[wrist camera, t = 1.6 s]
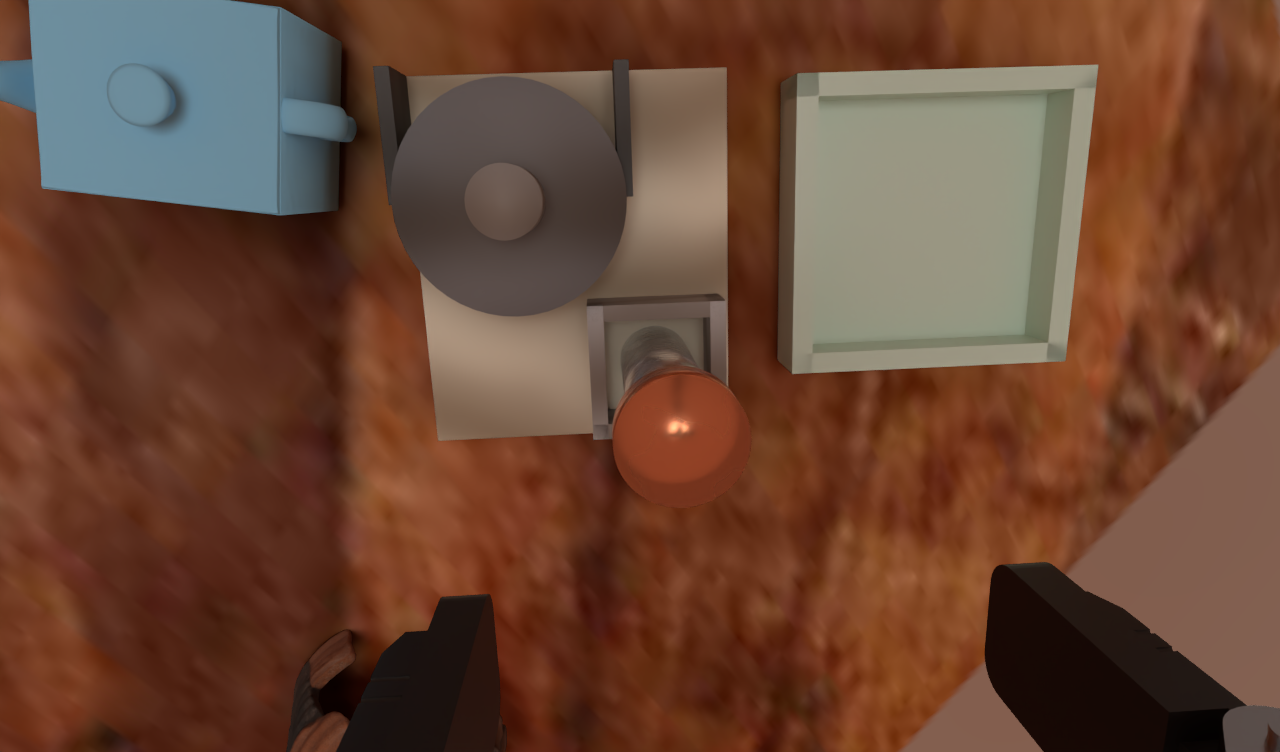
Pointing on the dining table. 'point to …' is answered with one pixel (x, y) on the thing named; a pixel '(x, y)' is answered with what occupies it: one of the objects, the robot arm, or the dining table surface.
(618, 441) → the pin
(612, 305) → the pulley board
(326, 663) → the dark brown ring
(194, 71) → the teapot
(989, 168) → the tray
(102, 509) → the dining table surface
